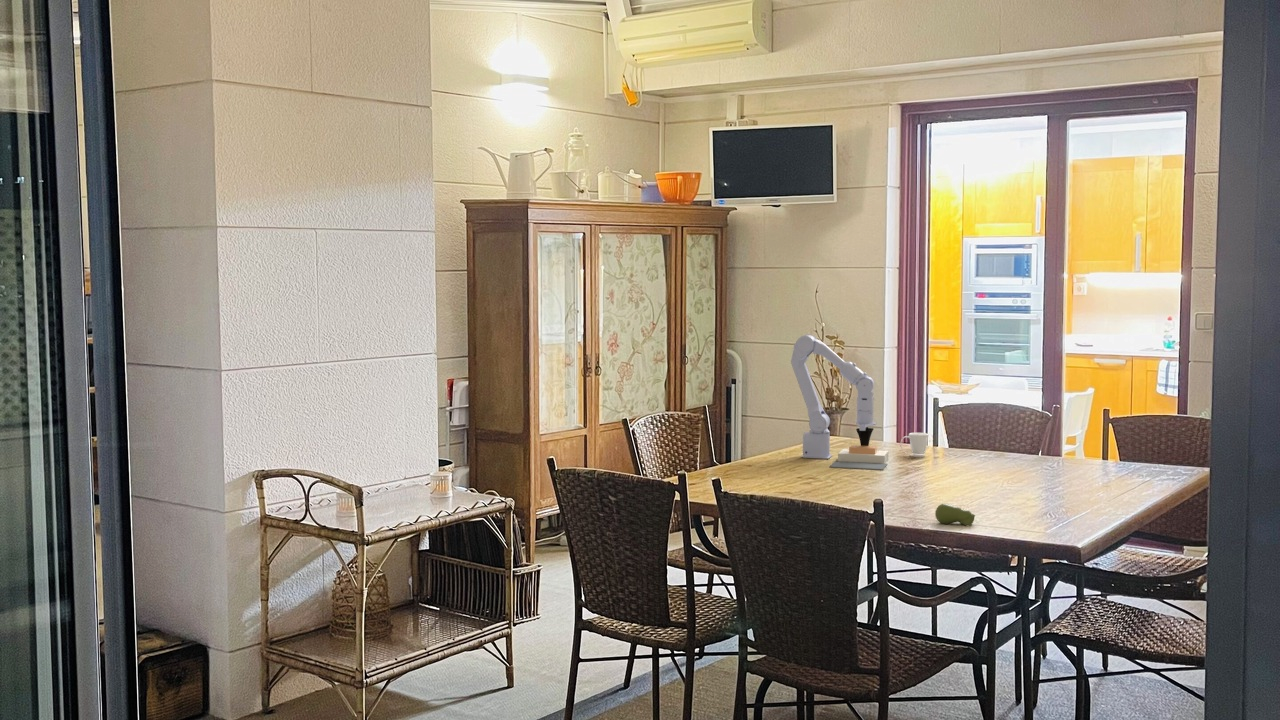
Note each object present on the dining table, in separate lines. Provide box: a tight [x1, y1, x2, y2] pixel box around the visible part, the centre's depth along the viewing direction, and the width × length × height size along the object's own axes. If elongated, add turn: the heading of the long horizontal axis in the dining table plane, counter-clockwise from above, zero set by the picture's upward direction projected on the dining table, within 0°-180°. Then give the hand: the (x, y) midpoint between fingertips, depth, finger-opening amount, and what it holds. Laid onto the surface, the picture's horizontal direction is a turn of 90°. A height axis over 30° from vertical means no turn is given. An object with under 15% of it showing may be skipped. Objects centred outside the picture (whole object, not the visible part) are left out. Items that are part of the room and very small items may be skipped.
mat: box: [829, 460, 888, 471], centre depth 398 cm, size 18×12×1 cm, turn 72°
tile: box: [848, 444, 878, 454], centre depth 409 cm, size 9×6×2 cm, turn 72°
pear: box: [934, 503, 976, 526], centre depth 305 cm, size 6×5×10 cm
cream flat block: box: [837, 448, 889, 464], centre depth 410 cm, size 16×12×3 cm
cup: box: [899, 432, 930, 458], centre depth 421 cm, size 7×10×8 cm
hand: (864, 448), depth 413 cm, fingers closed
